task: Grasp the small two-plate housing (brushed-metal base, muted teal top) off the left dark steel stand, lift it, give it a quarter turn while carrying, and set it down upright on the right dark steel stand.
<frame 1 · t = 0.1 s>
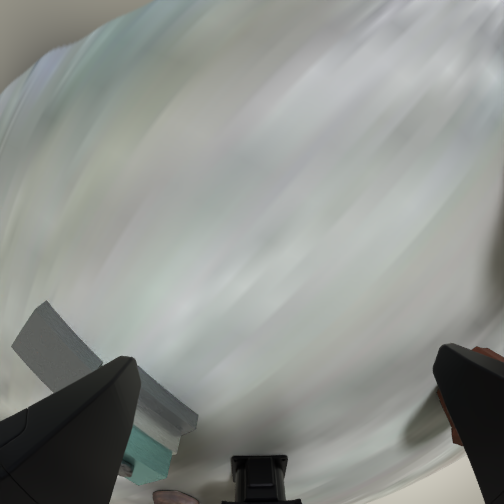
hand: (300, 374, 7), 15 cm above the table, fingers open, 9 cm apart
housing: (139, 419, 24), point 2 cm above the table, touching stand a
stand a: (144, 406, 26), on the table
mortar and pestle: (181, 502, 33), on the table
muffin: (464, 374, 26), on the table
stand b: (57, 349, 24), on the table
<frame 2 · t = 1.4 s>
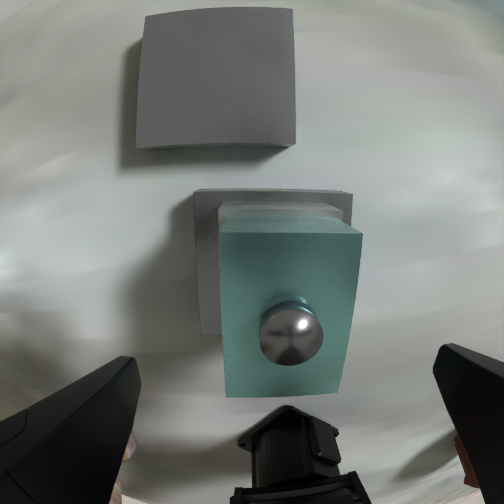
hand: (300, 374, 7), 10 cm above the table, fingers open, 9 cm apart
housing: (273, 269, 15), point 2 cm above the table, touching stand a
stand a: (270, 258, 17), on the table
mortar and pestle: (102, 437, 22), on the table
muffin: (479, 422, 24), on the table
stand b: (218, 79, 14), on the table
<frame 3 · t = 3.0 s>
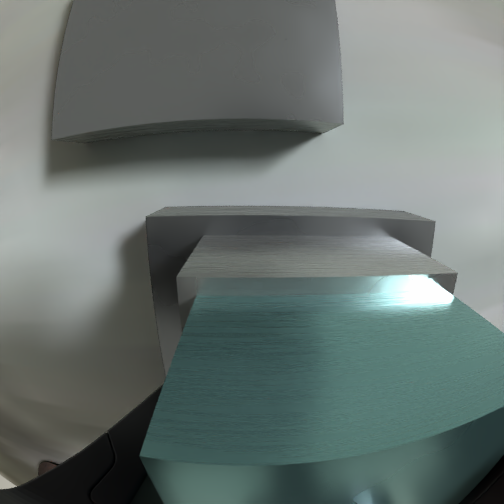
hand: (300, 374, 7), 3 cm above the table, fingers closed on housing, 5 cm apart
housing: (295, 353, 8), point 2 cm above the table, touching gripper, stand a
stand a: (287, 321, 10), on the table
stand b: (199, 23, 7), on the table
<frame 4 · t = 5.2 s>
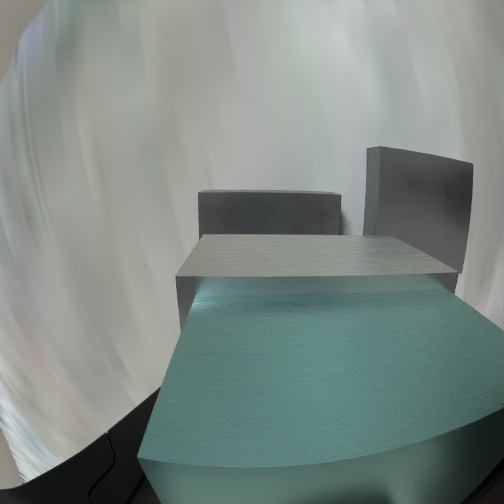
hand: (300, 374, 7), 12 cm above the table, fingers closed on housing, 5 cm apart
housing: (295, 352, 8), point 11 cm above the table, touching gripper
stand a: (414, 211, 18), on the table
stand b: (267, 253, 19), on the table
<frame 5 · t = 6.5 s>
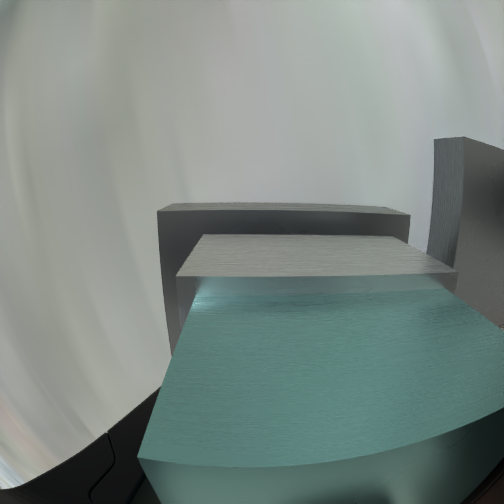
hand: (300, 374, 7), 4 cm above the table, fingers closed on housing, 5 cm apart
housing: (295, 352, 8), point 3 cm above the table, touching gripper
stand a: (487, 235, 11), on the table
stand b: (280, 306, 12), on the table
when the fingers open (4 cm above the table, at t = 7.3 s): housing drops 1 cm, resting on stand b.
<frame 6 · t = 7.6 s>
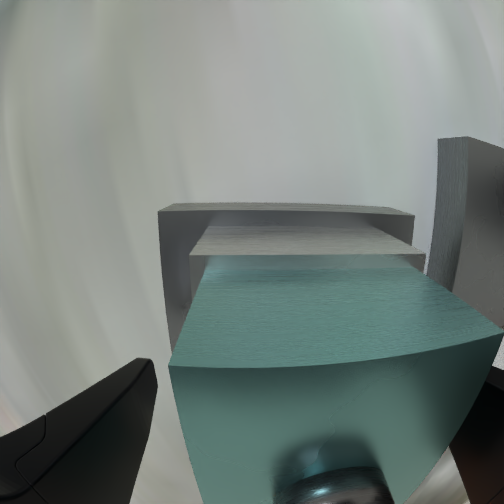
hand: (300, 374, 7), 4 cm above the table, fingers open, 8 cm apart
housing: (290, 332, 9), point 2 cm above the table, touching stand b
stand a: (490, 236, 11), on the table
stand b: (282, 307, 11), on the table
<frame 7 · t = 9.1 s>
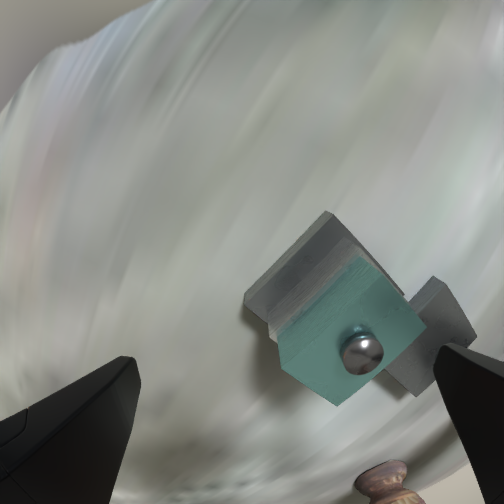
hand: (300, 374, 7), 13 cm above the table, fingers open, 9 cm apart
housing: (331, 300, 19), point 2 cm above the table, touching stand b
stand a: (421, 336, 22), on the table
mortar and pestle: (381, 477, 28), on the table
stand b: (323, 289, 21), on the table
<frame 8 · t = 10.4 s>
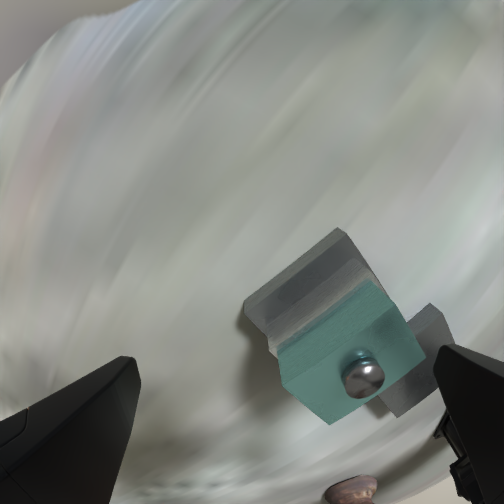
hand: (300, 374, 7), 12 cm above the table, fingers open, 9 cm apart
housing: (331, 318, 19), point 2 cm above the table, touching stand b
stand a: (410, 359, 22), on the table
mortar and pestle: (350, 490, 29), on the table
stand b: (323, 305, 20), on the table
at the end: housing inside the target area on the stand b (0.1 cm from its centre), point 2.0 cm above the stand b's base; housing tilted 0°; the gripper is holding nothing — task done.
